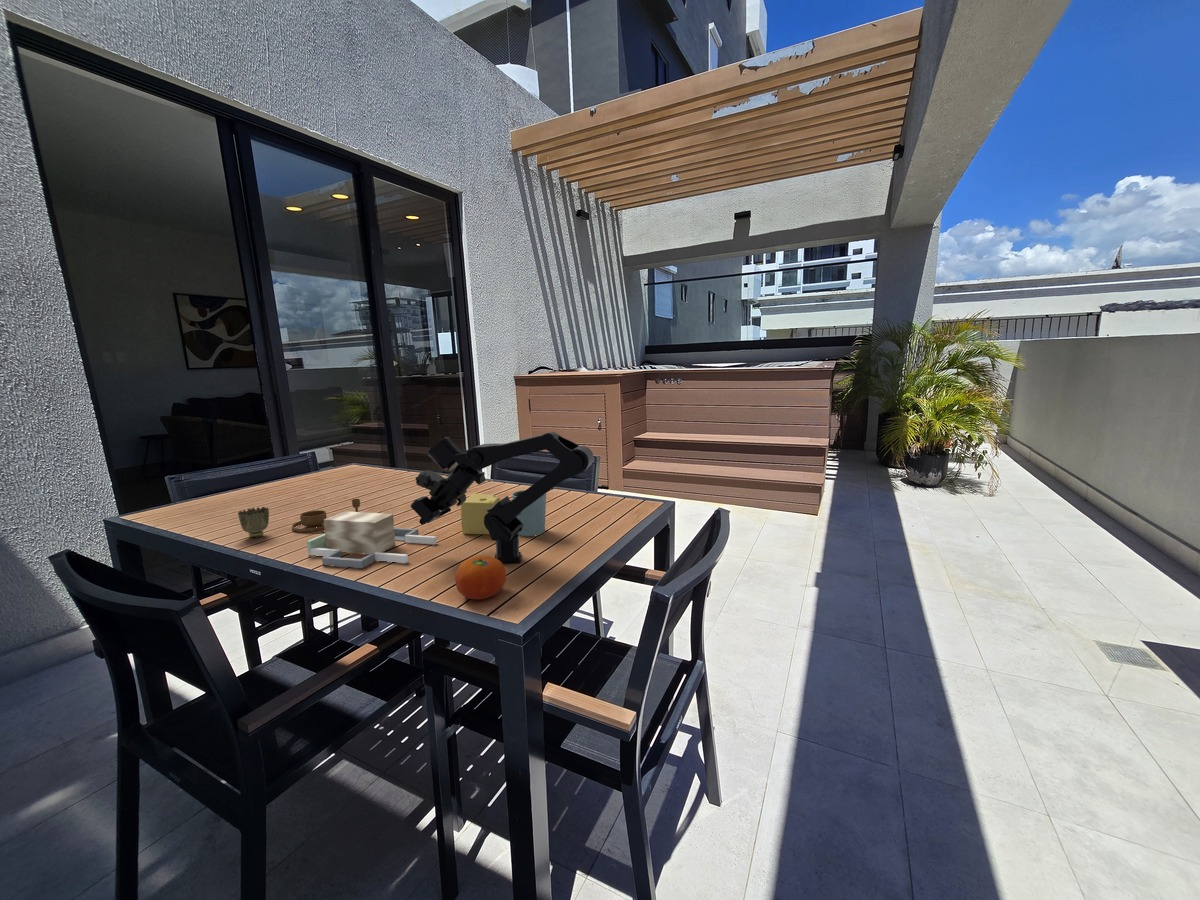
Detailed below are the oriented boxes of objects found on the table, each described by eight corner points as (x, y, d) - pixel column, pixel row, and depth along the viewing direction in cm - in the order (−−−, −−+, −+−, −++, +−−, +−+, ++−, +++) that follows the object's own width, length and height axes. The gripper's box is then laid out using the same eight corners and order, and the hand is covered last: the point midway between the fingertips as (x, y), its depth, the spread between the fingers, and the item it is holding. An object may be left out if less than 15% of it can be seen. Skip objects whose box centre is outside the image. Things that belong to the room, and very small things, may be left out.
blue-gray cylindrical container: (532, 539, 139) (531, 499, 137) (505, 534, 144) (504, 494, 143) (553, 530, 148) (553, 491, 146) (527, 525, 153) (527, 487, 151)
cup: (239, 536, 143) (236, 509, 142) (269, 530, 148) (266, 505, 146) (242, 542, 137) (239, 515, 136) (273, 536, 142) (270, 510, 141)
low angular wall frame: (445, 537, 141) (444, 524, 141) (393, 571, 117) (392, 555, 116) (359, 531, 146) (358, 519, 146) (292, 563, 122) (291, 547, 122)
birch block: (395, 545, 135) (393, 514, 134) (377, 555, 127) (374, 522, 126) (347, 542, 138) (344, 511, 137) (326, 552, 130) (323, 519, 129)
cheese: (505, 524, 154) (504, 493, 152) (494, 536, 143) (493, 502, 141) (473, 523, 155) (471, 493, 153) (460, 534, 144) (458, 501, 142)
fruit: (467, 583, 110) (466, 549, 109) (512, 585, 109) (511, 551, 108) (448, 605, 100) (446, 568, 98) (497, 608, 98) (495, 570, 97)
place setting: (292, 524, 156) (290, 506, 155) (361, 514, 167) (359, 497, 166) (291, 539, 141) (289, 519, 141) (367, 528, 152) (366, 509, 151)
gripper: (453, 454, 133) (419, 493, 137) (415, 467, 115) (377, 511, 119) (481, 483, 133) (446, 521, 137) (448, 500, 115) (409, 543, 119)
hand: (421, 523), depth 128 cm, fingers closed
